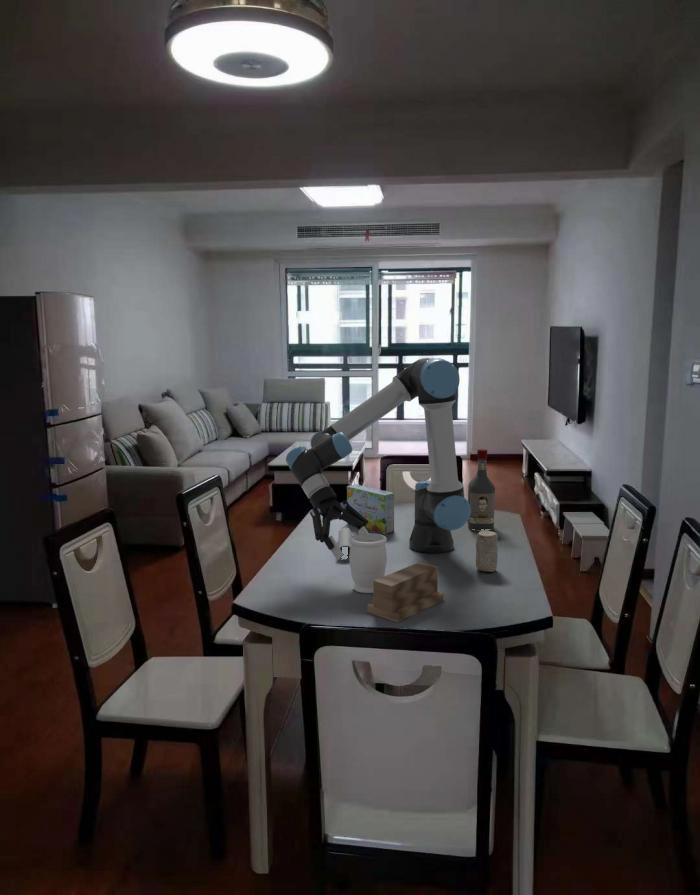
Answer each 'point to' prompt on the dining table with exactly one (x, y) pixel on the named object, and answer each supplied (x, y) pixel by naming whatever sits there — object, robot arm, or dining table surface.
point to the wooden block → (405, 592)
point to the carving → (486, 551)
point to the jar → (367, 560)
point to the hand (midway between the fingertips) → (357, 552)
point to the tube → (344, 539)
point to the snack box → (373, 507)
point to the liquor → (481, 496)
